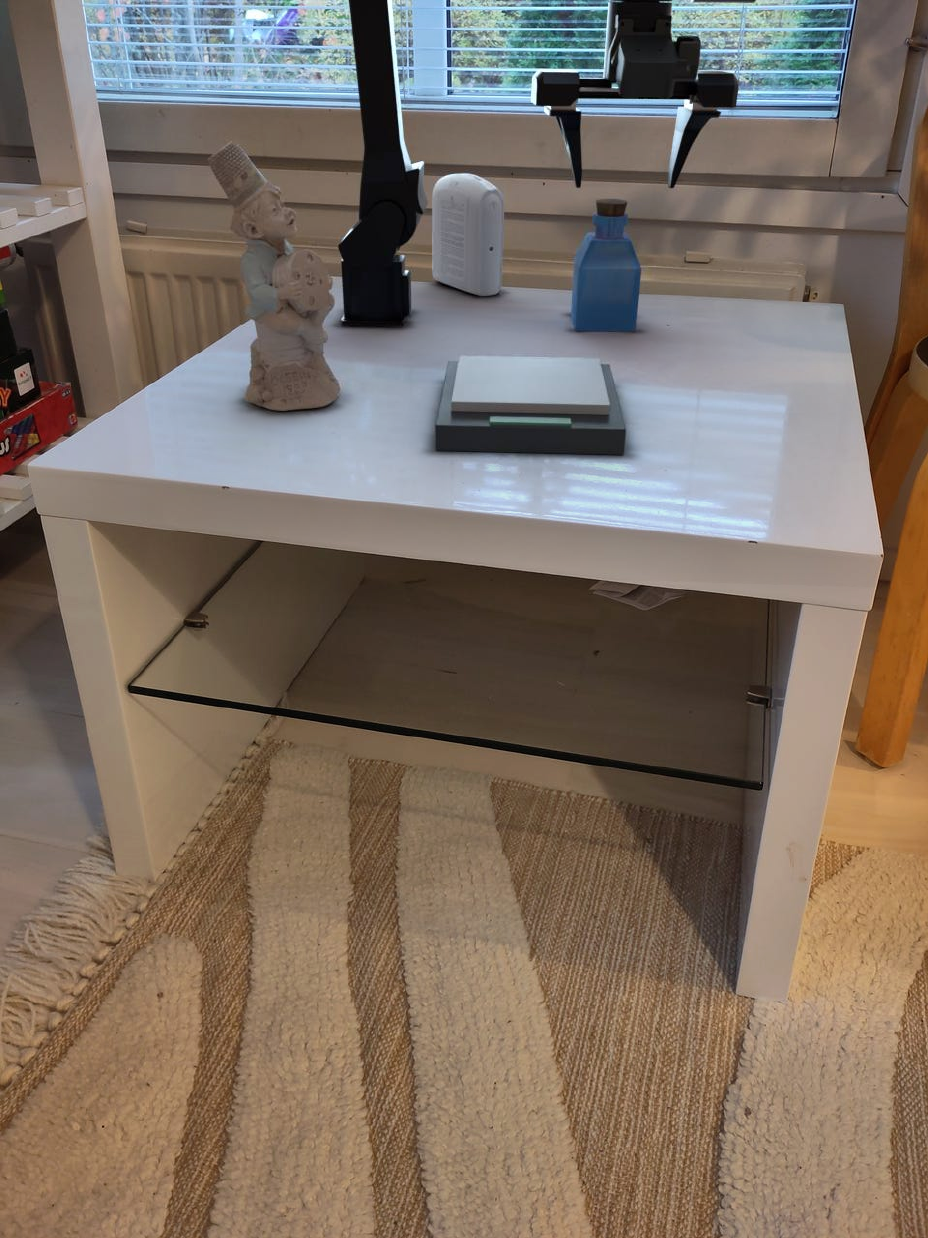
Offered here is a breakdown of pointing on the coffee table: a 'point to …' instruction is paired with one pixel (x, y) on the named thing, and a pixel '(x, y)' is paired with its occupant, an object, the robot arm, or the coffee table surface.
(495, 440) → the scale
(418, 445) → the coffee table surface
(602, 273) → the perfume bottle
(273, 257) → the figurine
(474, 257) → the photo printer
